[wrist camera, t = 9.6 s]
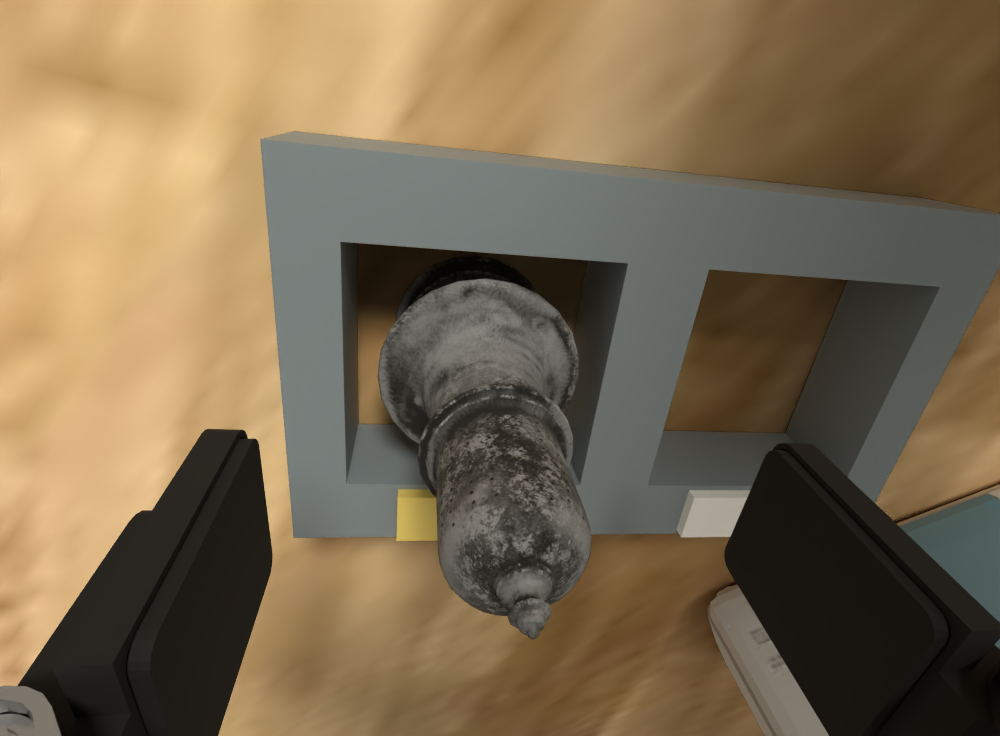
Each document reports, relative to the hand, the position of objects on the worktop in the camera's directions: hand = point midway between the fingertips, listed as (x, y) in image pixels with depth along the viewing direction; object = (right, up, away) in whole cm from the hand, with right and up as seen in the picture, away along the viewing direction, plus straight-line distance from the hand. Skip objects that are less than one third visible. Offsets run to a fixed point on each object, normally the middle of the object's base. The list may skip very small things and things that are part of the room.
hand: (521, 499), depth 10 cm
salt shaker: (-1, +4, +9) cm, 10 cm away
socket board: (+3, +3, +10) cm, 11 cm away
